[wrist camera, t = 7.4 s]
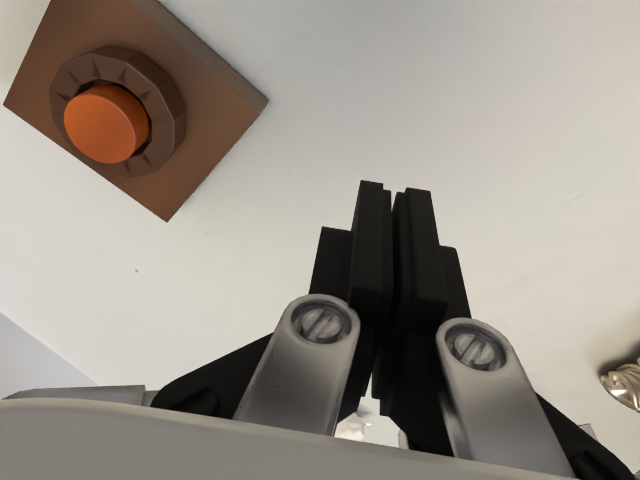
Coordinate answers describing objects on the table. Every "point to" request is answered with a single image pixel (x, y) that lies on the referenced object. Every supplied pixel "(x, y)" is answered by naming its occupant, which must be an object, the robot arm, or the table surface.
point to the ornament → (624, 385)
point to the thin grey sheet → (588, 430)
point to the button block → (137, 92)
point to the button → (106, 123)
